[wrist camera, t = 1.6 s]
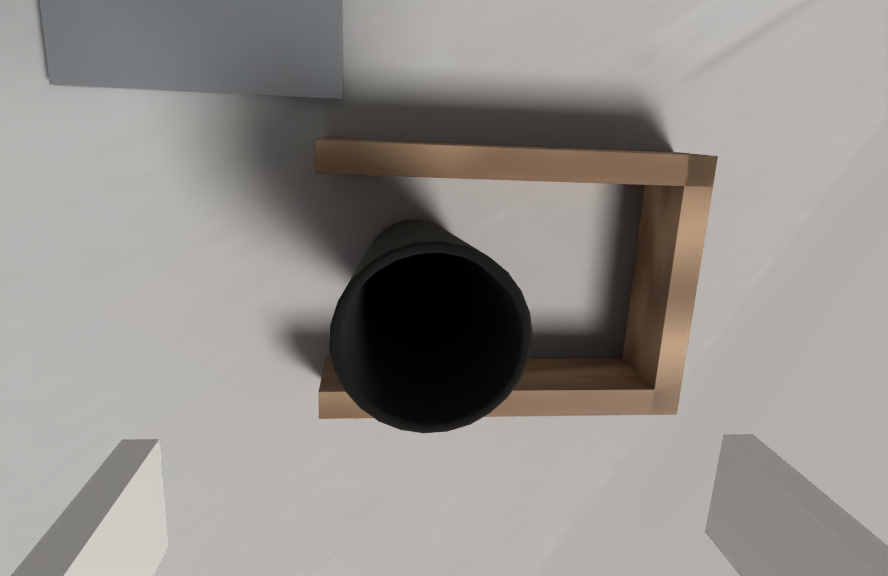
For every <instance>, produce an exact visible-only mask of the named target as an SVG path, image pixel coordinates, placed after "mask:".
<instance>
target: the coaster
mask: <svg viewBox="0 0 888 576" xmlns="http://www.w3.org/2000/svg"><path fill="white" fill-rule="evenodd" d="M39 2H40V10H41V18H42V26H43V34H44V43H45V51H46V59H47V67H48V75H49V83H50V85H60V86H80V87H101V88H122V89H143V90H164V91H184V92H205V93H226V94H247V95H268V96H288V97H309V98H330V99H343V0H39Z"/></svg>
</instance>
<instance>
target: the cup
mask: <svg viewBox="0 0 888 576" xmlns="http://www.w3.org/2000/svg"><path fill="white" fill-rule="evenodd" d="M531 342H532V327H531V319H530V312H529V309H528V307H527V304H526V301H525V299H524V296H523V294H522V291H521V290H520V288H519V287H518V286H517V284H516V283H515V281H514V280H513V279H512V277H511V276H510V275H509V273H508V272H507V271H506V270H505V269H503V268H502V267H501V266H500V265H498V264H497V263H496V262H495V261H494V260H492V259H491V258H490V257H489V256H487V255H485V254H484V253H482V252H480V251H479V250H477V249H476V248H474V247H472V246H471V245H469V244H467V243H466V242H464V241H462V240H461V239H459V238H458V237H456V236H454V235H453V234H451V233H449V232H448V231H446V230H445V229H443V228H441V227H439V226H437V225H435V224H433V223H431V222H427V221H422V220H406V221H402V222H399V223H396V224H393V225H392V226H390V227H388V228H387V229H385V230H384V231H383V232H381V233H380V234H379V235H378V236H377V237H376V238H375V240H374V242H373V243H372V245H371V246H370V248H369V250H368V251H367V253H366V255H365V256H364V258H363V260H362V262H361V263H360V265H359V267H358V268H357V270H356V272H355V273H354V275H353V277H352V278H351V280H350V282H349V283H348V285H347V287H346V289H345V290H344V292H343V294H342V295H341V297H340V299H339V300H338V303H337V306H336V309H335V312H334V315H333V319H332V322H331V327H330V353H331V357H332V362H333V366H334V371H335V373H336V375H337V377H338V379H339V381H340V383H341V385H342V386H343V388H344V390H345V392H346V393H347V394H348V395H349V396H350V398H351V399H352V400H353V401H354V402H355V403H356V404H357V405H358V407H359V408H360V409H362V410H363V411H365V412H366V413H368V414H369V415H370V416H372V417H373V418H375V419H376V420H378V421H379V422H382V423H384V424H387V425H390V426H392V427H395V428H397V429H400V430H405V431H412V432H419V433H433V432H446V431H450V430H454V429H457V428H460V427H463V426H467V425H470V424H472V423H474V422H475V421H477V420H479V419H481V418H482V417H484V416H486V415H488V414H490V413H491V412H492V411H493V410H494V409H495V408H497V407H498V406H499V405H500V404H501V403H502V402H503V401H504V400H506V399H507V398H508V396H509V395H510V393H511V392H512V391H513V389H514V388H515V386H516V385H517V384H518V382H519V381H520V379H521V377H522V375H523V372H524V370H525V367H526V365H527V362H528V360H529V356H530V349H531Z"/></svg>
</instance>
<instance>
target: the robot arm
mask: <svg viewBox="0 0 888 576" xmlns="http://www.w3.org/2000/svg"><path fill="white" fill-rule="evenodd" d="M705 532H706V533H707V535H708V536H709V537H710V539H711V540H713V542H714V543H715V545H716V546H717V547H718V548H719V550H720V551H721V552H722V553H723V554H724V556H725V557H726V558H727V560H728V561H729V562H730V563H731V565H732V566H733V567H734V568H735V570H736V571H737V572H738V573H739V575H740V576H888V546H887V545H886V544H885V543H883V542H882V541H881V540H880V539H879V538H877V537H876V536H875V535H874V534H873V533H871V532H870V531H869V530H868V529H866V528H865V527H864V526H863V525H862V524H861V523H859V522H858V521H857V520H856V519H854V518H853V517H852V516H851V515H850V514H848V513H847V512H846V511H845V510H844V509H842V508H841V507H840V506H839V505H838V504H836V503H835V502H834V501H833V500H831V499H830V498H829V497H828V496H827V495H825V494H824V493H823V492H822V491H821V490H819V489H818V488H817V487H816V486H815V485H813V484H812V483H811V482H810V481H809V480H807V479H806V478H805V477H804V476H803V475H801V474H800V473H799V472H798V471H797V470H795V469H794V468H793V467H791V466H790V465H789V464H788V463H787V462H786V461H784V460H783V459H782V458H781V457H780V456H778V455H777V454H776V453H775V452H774V451H772V450H771V449H770V448H769V447H767V446H766V445H765V444H764V443H763V442H761V441H760V440H759V439H758V438H757V437H755V436H754V435H752V434H745V435H743V434H742V435H723V440H722V446H721V451H720V456H719V462H718V467H717V472H716V477H715V482H714V488H713V494H712V498H711V504H710V509H709V515H708V519H707V525H706V530H705ZM167 548H168V539H167V527H166V515H165V502H164V490H163V478H162V466H161V454H160V442H159V439H138V440H122V441H121V442H120V443H119V444H118V446H117V447H116V448H115V449H114V450H113V452H112V453H111V454H110V455H109V457H108V458H107V459H106V460H105V461H104V463H103V464H102V465H101V466H100V468H99V469H98V470H97V471H96V472H95V474H94V475H93V476H92V477H91V479H90V480H89V481H88V482H87V483H86V485H85V486H84V487H83V488H82V490H81V491H80V492H79V493H78V494H77V496H76V497H75V498H74V499H73V501H72V502H71V503H70V504H69V505H68V507H67V508H66V509H65V510H64V512H63V513H62V514H61V515H60V516H59V518H58V519H57V520H56V521H55V523H54V524H53V525H52V526H51V527H50V529H49V530H48V531H47V532H46V534H45V535H44V536H43V537H42V538H41V540H40V541H39V542H38V543H37V545H36V546H35V547H34V548H33V549H32V551H31V552H30V553H29V554H28V556H27V557H26V558H25V559H24V561H23V562H22V563H21V564H20V565H19V567H18V568H17V569H16V570H15V572H14V573H13V574H12V575H11V576H154V574H155V572H156V570H157V568H158V566H159V564H160V562H161V560H162V558H163V556H164V554H165V552H166V550H167Z"/></svg>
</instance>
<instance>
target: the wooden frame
mask: <svg viewBox="0 0 888 576" xmlns="http://www.w3.org/2000/svg"><path fill="white" fill-rule="evenodd" d="M717 158H718V156H709V155H699V154H689V153H678V152H659V151H635V150H610V149H586V148H561V147H536V146H512V145H487V144H463V143H438V142H414V141H389V140H364V139H340V138H321V139H317V140H315V174H344V175H374V176H403V177H433V178H462V179H492V180H521V181H551V182H580V183H610V184H639V185H644V193H643V201H642V208H641V216H640V224H639V232H638V239H637V247H636V255H635V263H634V270H633V278H632V286H631V294H630V301H629V309H628V317H627V325H626V332H625V340H624V348H623V355H622V358H552V359H529V360H528V362H527V365H526V367H525V370H524V372H523V375H522V377H521V379H520V381H519V382H518V384H517V385H516V386H515V388H514V389H513V391H512V392H511V393H510V395H509V396H508V398H507V399H506V400H504V401H503V402H502V403H501V404H500V405H499V406H498V407H497V408H495V409H494V410H493V411H492V412H491V413H490V414H488V415H486V416H484V417H499V416H583V415H664V414H677V409H678V403H679V396H680V390H681V384H682V378H683V372H684V365H685V359H686V353H687V346H688V340H689V334H690V328H691V321H692V315H693V309H694V302H695V296H696V290H697V284H698V277H699V271H700V265H701V258H702V252H703V246H704V240H705V233H706V227H707V221H708V214H709V208H710V202H711V196H712V189H713V183H714V177H715V170H716V164H717ZM331 418H373V417H372V416H370V415H369V414H368V413H366V412H365V411H363V410H362V409H360V408H359V407H358V405H357V404H356V403H355V402H354V401H353V400H352V399H351V398H350V396H349V395H348V394H347V393H346V392H345V390H344V388H343V386H342V385H341V383H340V381H339V379H338V377H337V375H336V373H335V371H334V366H333V362H332V359H326V361H325V365H324V370H323V374H322V379H321V383H320V388H319V419H331Z"/></svg>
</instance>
